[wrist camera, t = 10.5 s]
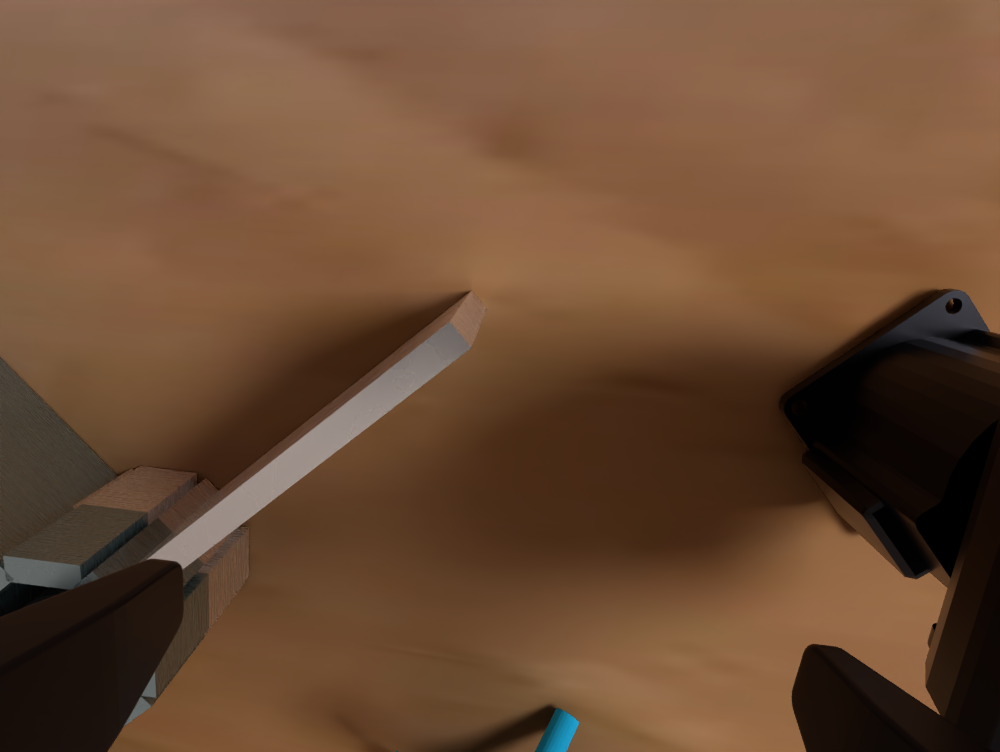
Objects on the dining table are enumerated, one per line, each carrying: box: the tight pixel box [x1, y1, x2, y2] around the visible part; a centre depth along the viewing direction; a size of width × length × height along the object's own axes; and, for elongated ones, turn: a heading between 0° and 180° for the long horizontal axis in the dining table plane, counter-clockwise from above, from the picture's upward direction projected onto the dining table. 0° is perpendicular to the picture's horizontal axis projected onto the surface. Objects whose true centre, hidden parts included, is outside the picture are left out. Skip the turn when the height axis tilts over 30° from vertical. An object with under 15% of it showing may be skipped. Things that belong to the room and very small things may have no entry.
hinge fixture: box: [0, 290, 487, 726], centre depth 18 cm, size 18×18×6 cm
